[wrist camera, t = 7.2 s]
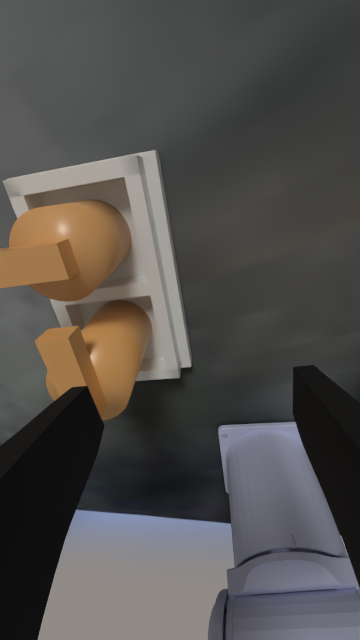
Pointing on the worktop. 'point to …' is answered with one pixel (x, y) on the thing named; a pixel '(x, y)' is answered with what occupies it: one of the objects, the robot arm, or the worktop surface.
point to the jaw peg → (98, 355)
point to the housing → (101, 249)
